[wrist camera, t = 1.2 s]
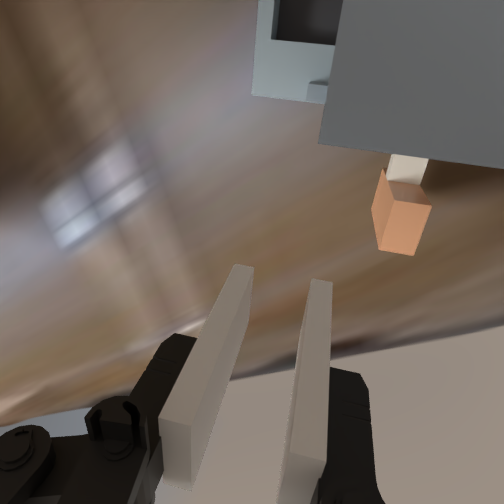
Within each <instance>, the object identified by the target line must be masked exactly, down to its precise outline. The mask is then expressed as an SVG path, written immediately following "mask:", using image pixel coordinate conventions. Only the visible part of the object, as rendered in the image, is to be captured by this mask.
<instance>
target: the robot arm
mask: <svg viewBox="0 0 504 504" xmlns="http://www.w3.org/2000/svg"><path fill="white" fill-rule="evenodd" d="M253 275H254V267H250V266H244V265H239V264H234V266H233V268H232V270H231V272H230V274H229V276H228V278H227V280H226V282H225V284H224V286H223V288H222V290H221V292H220V294H219V296H218V298H217V300H216V302H215V304H214V306H213V308H212V310H211V312H210V314H209V316H208V318H207V320H206V322H205V324H204V326H203V328H202V330H201V332H200V334H199V336H198V338H194V337H190V336H185V335H181V334H177V333H174V334H173V335H171V336H170V337H169V338H168V339H166V340H165V341H164V342H162V343H161V345H160V346H159V348H158V350H157V351H156V353H155V355H154V356H153V359H151V361H150V363H149V364H148V366H147V368H146V371H144V372H143V374H142V376H141V377H140V379H139V381H138V382H137V384H136V386H135V387H134V389H133V390H132V392H131V394H130V395H129V396H114V397H111V398H108V399H105V400H103V401H101V402H100V403H98V404H97V405H95V406H94V407H92V408H91V410H90V411H89V412H88V413H87V415H86V416H85V423H86V426H87V431H88V434H85V435H78V436H65V437H50V435H49V432H48V431H46V430H45V429H44V428H43V427H41V426H36V425H26V426H19V427H17V428H15V429H13V430H10V431H8V432H6V433H4V434H3V435H2V436H0V504H154V502H155V490H156V488H157V485H158V483H159V481H160V479H161V476H162V474H163V483H164V484H168V485H171V486H174V487H178V488H181V489H184V490H188V491H192V488H193V485H194V482H195V479H196V476H197V473H198V470H199V467H200V465H201V462H202V459H203V456H204V453H205V450H206V447H207V444H208V441H209V438H210V435H211V432H212V429H213V426H214V423H215V420H216V417H217V414H218V411H219V408H220V405H221V402H222V399H223V397H224V394H225V391H226V388H227V385H228V382H229V379H230V376H231V373H232V370H233V367H234V364H235V361H236V358H237V355H238V352H239V349H240V346H241V343H242V340H243V337H244V334H245V331H246V329H247V326H248V322H249V313H250V303H251V294H252V284H253ZM332 285H333V282H328V281H323V280H318V279H313V278H312V279H311V284H310V289H309V293H308V298H307V303H306V308H305V313H304V318H303V322H302V327H301V332H300V338H299V345H298V352H297V359H296V366H295V373H294V380H293V387H292V394H291V401H290V409H289V415H288V422H287V430H286V436H285V443H284V450H283V458H282V464H281V471H280V478H279V486H278V493H277V499H276V504H385V502H384V501H383V500H382V497H381V495H380V493H379V490H378V487H377V483H376V475H375V464H374V451H373V439H372V427H371V416H370V410H369V409H370V404H369V403H370V402H369V391H368V388H367V386H366V384H365V382H364V380H363V378H362V377H361V375H360V374H359V373H354V372H350V371H346V370H341V369H337V368H332V367H330V343H331V314H332Z"/></svg>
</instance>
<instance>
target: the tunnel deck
mask: <svg viewBox="0 0 504 504" xmlns="http://www.w3.org/2000/svg"><path fill="white" fill-rule="evenodd" d="M251 95H253V96H261V97H270V98H278V99H286V100H295V101H303V102H311V103H319V104H325V106H324V112H323V118H322V123H321V129H320V135H319V140H318V144H324V145H331V146H338V147H346V148H353V149H360V150H368V151H375V152H382V153H390V154H397V155H404V156H412V157H419V158H426V159H434V160H441V161H448V162H456V163H463V164H470V165H477V166H485V167H492V168H499V169H504V0H259V3H258V16H257V29H256V42H255V55H254V68H253V81H252V94H251Z"/></svg>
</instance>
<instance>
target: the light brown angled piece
mask: <svg viewBox="0 0 504 504" xmlns="http://www.w3.org/2000/svg"><path fill="white" fill-rule="evenodd" d="M428 160H429V159H426V158H419V157H412V156H404V155H397V154H392V155H391V159H390V162H389V166H388V168H383V169H382V172H381V176H380V179H379V183H378V187H377V190H376V194H375V197H374V201H373V205H372V208H371V211H372V216H373V221H374V226H375V232H376V237H377V242H378V247H379V250H383V251H389V252H395V253H400V254H406V255H412V256H414V253H415V251H416V248H417V245H418V242H419V240H420V237H421V234H422V232H423V229H424V226H425V224H426V221H427V218H428V216H429V213H430V210H431V207H432V205H431V203H430V202H429V200H428V198H427V197H426V195H425V193H424V191H423V190H422V188H421V186H420V184H421V181H422V178H423V175H424V172H425V169H426V166H427V163H428Z"/></svg>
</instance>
